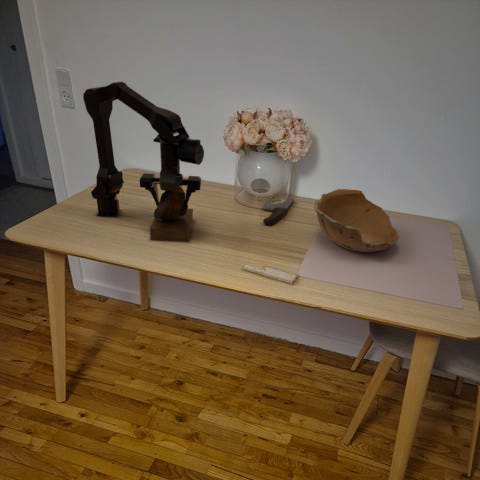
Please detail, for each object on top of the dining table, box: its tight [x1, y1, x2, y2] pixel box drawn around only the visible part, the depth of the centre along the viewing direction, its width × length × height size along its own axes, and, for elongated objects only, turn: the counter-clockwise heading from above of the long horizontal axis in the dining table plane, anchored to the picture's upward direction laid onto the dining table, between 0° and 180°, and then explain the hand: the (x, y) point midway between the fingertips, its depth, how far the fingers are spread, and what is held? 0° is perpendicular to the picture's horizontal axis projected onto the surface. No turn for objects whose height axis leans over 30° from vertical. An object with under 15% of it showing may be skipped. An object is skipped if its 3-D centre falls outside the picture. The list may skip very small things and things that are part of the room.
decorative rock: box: [153, 186, 189, 221], centre depth 141 cm, size 12×6×11 cm, turn 133°
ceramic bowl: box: [313, 188, 400, 253], centre depth 143 cm, size 30×27×15 cm
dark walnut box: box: [149, 208, 194, 243], centre depth 145 cm, size 12×18×4 cm, turn 0°
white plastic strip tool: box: [243, 264, 299, 284], centre depth 125 cm, size 5×15×1 cm, turn 63°
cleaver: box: [261, 197, 295, 226], centre depth 164 cm, size 30×10×2 cm, turn 162°
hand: (171, 208), depth 142 cm, fingers closed on decorative rock, 8 cm apart
